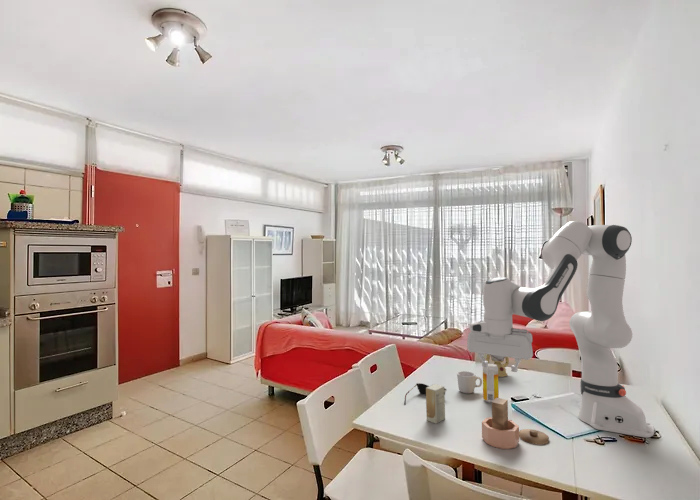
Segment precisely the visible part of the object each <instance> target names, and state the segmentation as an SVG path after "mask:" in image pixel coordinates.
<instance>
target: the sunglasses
mask: <svg viewBox="0 0 700 500" xmlns="http://www.w3.org/2000/svg"><path fill="white" fill-rule="evenodd" d="M416 386H417V390H418V392H419V394H420V395H424V394H425V396H426V388H427V387H429V385H427V384H425V383H419V382H417V383H416V384H414V386H413V387H411V389H410V390H408V392H406V394H405V396H404V402H403V403H404V404H403V406H406V401H407V400H406V399H407V395H408V394H409V393H410V392H411V391H412V390H413V389H414V388H416ZM446 392H447V388H445V387H444V393H445V394H446Z"/></svg>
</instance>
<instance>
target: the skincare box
mask: <svg viewBox="0 0 700 500" xmlns="http://www.w3.org/2000/svg"><path fill="white" fill-rule="evenodd" d="M428 386H429V385H428ZM444 388H445V386H444V385H441V384H437V383H434V384H431V385H430V386H429V387H427V388H426V395H425V396H426V397H425V404H426V407H425V408H426V421H428V422H430V423H433V424H436V425H437V424H438V423H439V422H442V421H444V420H445V419H446V404H445V403H446V401H445V399H446V398H445V396H446V392H445V393H444Z"/></svg>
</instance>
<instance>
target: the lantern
mask: <svg viewBox="0 0 700 500" xmlns="http://www.w3.org/2000/svg"><path fill="white" fill-rule="evenodd" d="M485 360H486V361H488V363H490V360H491V361H492V362H494V363H493V364H496V365H497V367H498V378H500V377H507V376H508V373H507V369H506V367H508V366H509V363H510V357H503V356H496V355H489V354H486V359H485ZM504 360H505V363H504V364H503V362H504Z"/></svg>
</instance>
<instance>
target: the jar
mask: <svg viewBox="0 0 700 500" xmlns="http://www.w3.org/2000/svg"><path fill="white" fill-rule="evenodd" d="M519 431H520V426H519V424H517V423H516V422H515V421H513V420H512V419H510V418H508V430H499V429H495V428H492V416H491V417H485V418H484V420H482V422H481V438H482V439H483V440H482V441H484V443H486V444H487V445H489V446H490V447H494V448H497V449H499V450H500V449H501V450H511V449H516V448H517V447H518V446H519V442H520V437H519Z"/></svg>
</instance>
